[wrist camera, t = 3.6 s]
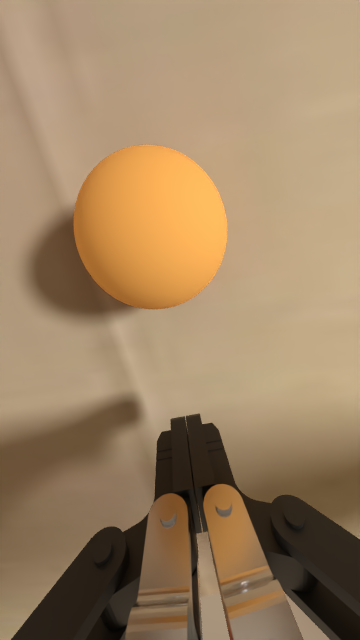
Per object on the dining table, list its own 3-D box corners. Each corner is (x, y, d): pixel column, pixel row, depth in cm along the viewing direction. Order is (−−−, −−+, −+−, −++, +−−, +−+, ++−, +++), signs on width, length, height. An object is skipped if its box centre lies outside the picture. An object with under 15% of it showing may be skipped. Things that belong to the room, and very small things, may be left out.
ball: (217, 286, 13) (258, 309, 7) (117, 304, 13) (75, 343, 7) (203, 171, 11) (241, 75, 5) (87, 191, 11) (-1, 117, 5)
